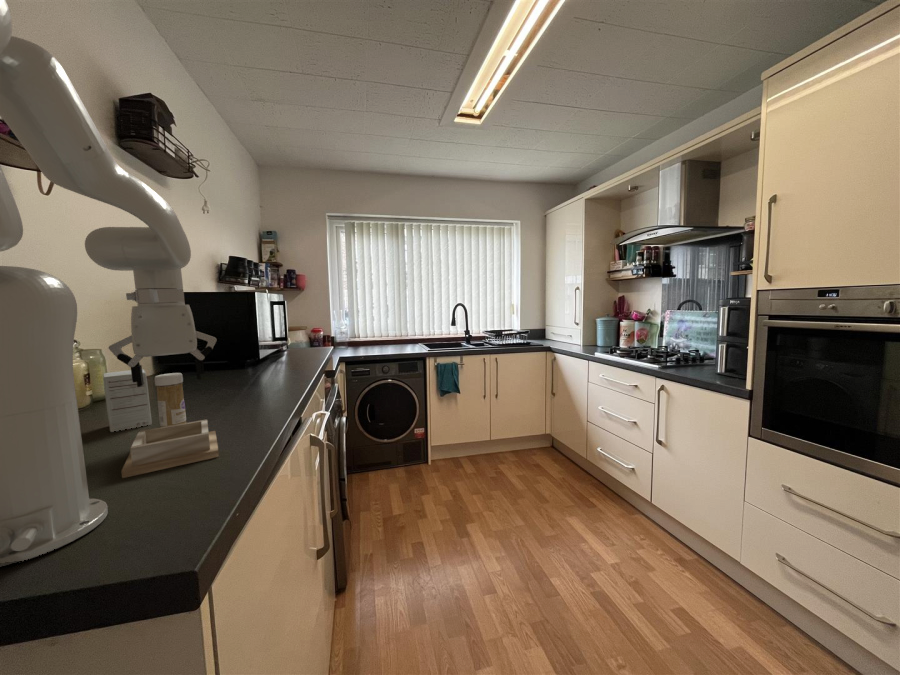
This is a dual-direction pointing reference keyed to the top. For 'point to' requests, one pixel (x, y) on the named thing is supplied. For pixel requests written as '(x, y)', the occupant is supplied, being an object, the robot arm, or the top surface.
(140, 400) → the supplement box
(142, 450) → the socket board
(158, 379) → the sprinkles bottle
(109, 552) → the top surface
